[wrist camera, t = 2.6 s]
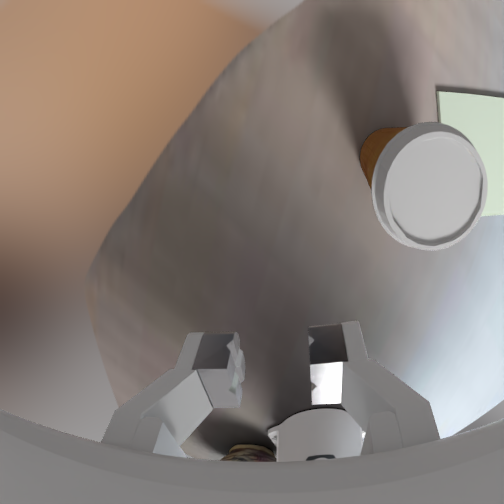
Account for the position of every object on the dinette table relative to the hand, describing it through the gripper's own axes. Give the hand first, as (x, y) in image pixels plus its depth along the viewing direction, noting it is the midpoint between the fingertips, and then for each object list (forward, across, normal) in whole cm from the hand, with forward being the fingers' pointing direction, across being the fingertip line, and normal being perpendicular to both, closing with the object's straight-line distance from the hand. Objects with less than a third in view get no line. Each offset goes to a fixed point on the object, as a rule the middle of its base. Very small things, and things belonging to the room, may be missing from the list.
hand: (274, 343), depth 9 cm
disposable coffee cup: (+24, +11, 0) cm, 27 cm away
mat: (+24, +25, 0) cm, 35 cm away
